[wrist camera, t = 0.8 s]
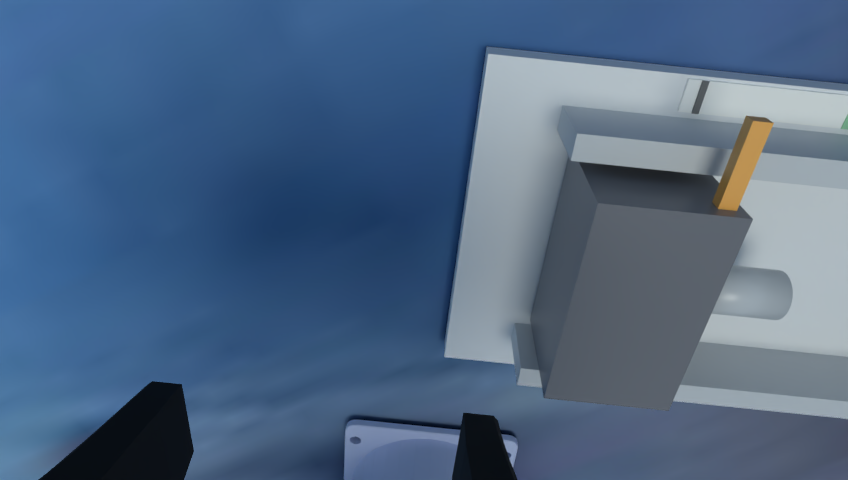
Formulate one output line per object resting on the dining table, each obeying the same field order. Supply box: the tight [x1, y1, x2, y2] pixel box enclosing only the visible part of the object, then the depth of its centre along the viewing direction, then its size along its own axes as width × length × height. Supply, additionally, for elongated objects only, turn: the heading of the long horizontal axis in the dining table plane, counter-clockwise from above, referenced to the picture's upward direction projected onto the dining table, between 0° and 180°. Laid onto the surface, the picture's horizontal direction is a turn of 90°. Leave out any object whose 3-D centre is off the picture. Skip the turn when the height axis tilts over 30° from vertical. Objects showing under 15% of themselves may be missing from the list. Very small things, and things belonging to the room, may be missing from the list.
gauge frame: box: [444, 47, 848, 419], centre depth 18 cm, size 12×22×6 cm, turn 85°
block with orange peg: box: [530, 116, 793, 411], centre depth 17 cm, size 9×7×4 cm
